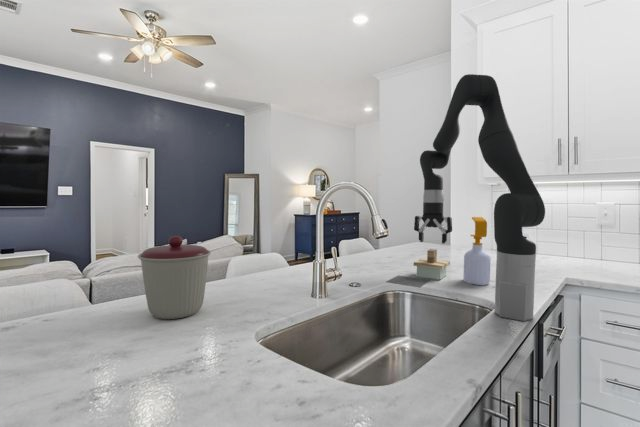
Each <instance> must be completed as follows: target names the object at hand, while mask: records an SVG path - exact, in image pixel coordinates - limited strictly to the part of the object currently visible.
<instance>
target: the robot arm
mask: <svg viewBox="0 0 640 427" xmlns="http://www.w3.org/2000/svg"><path fill="white" fill-rule="evenodd" d="M451 96H452V97H451V99H450V102H449V105H448V108H447V111H446V114H445V117H444V120H443V123H442V125H441V126H440V128H439V131H438V132H437V134H436V135H435V138H434V140H433V142H432V147H433V149H434V150H423V152H422V153H421V154H420V157H419V164H420V168H421V172H422V176H423V181H424V182H423V183H424V184H423V198H422V200H423V202H422V212H423V213H422V216H420V215H415V216H414V226H413V229H414V231H416V232H418V240H419V242H420V243H423V242H424V237H425V236H424V231H425V230H426V229H427V228H435V229H436V228H438V230H440V231H441V244H442V245H443V244H446V243H447V240H448V234H450V233H452V232H453V218H452V217H451V216H447V217H444V178H443V176H442V175H441V174H436V173H435V172H434V171H433V170H442V169H444V168H445V167H447V166H448V163H449V159H450V155H451V152H452V149H453V147H454V145H455V144H456V143H457V140H458V138H459V136H460V134H461V122H460V116H461V113H462V110H463V109H464V108H465V106H476V107H477V106H479V108H480V110H481V111H482V112H481V113H482V115H483V118H484V119H483V124H482V125H481V128H480V130H479V134H478V137H477V138H478V139H477V142H478V146H479V149H480V152H481V155H482V158H483V160H484V162H485V163H486V164H487V166H488V167H489V168H490V169H491V170H492V171H493V172H494V173H495V174H496V175H497V176H498V177H499V178H500V179H501V180H502V181H503V182H504V184H505V185H506V186H507V188H508V190H509V192H506V193H502V194H501V195H500V196H498V197H497V198H496V201H495V204H494V209H493V230H494V231H493V232H494V234H493V235H494V237H493V238H494V240H495V241H494V242H495V244H496V262H495V263H496V264H495V265H496V266H495V286H494V287H495V289H494V291H495V293H494V313H495V314H497V315H498V318H499V317H500V318H505V319H510V320H516V321H521V322H526V321H530V320H532V319H533V318H534V308H535V307H534V306H535V305H534V304H535V286H536V284H535V280H536V260H537V258H536V256H537V244H536V243H535V242H534V241H532V240H530V239H527V238H526V237H525V236H524V235H523V228H533V227H537V226H539V225H541V224H542V222H543V221H544V219H545V217H546V208H545V207H546V206H545V203H544V200H543V198H542V197H541V194H540V193H539V190H538V189H537V187H536V185H535V182H533V179H532V178H531V176H530V174H529V172H528V169H527V167H526V165H525V162H524V160H523V157H522V155H521V153H520V150H519V148H518V145H517V141H516V139H515V136H514V133H513V132H512V130H511V127H510V125H509V122H508V119H507V116H506V113H505V111H504V107H503V103H502V100H501V96H500V92H499V87H498V84H497V82H496V79H495V78H494V77H492V76H491V75H488V74H487V75H486V74H473V73H471V74H464V75H463V76H461V78H460V79H459V80H458V82H457V83H456V86H455V88H454V91H453V94H452V95H451ZM421 221H422V222H423V223H422V225H421V227H420V222H421ZM444 221H445V223H446V224H447V225H446V227H445V226H444V224H443V222H444Z"/></svg>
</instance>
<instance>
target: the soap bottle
mask: <svg viewBox="0 0 640 427" xmlns="http://www.w3.org/2000/svg"><path fill="white" fill-rule="evenodd" d="M471 220H473V221H474V234H470V237H473V239H474V242H472V248H471V249H469V250H468V251H466V252H465V253H464V255H463V279H462V280H463V282H465V283H468V284H471V285H474V286H475V285H476V286H485V285H486V286H487V285H489V284H490V280H491V279H490V278H491V276H490V275H491V256H490V254H489V253H487V251H485V250H483V243H482V242H481V240H483V238H486V237H487V235H488V230H487V229H488V222H487V220H486V219H485V218H484V217H482V216H472V217H471Z"/></svg>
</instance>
